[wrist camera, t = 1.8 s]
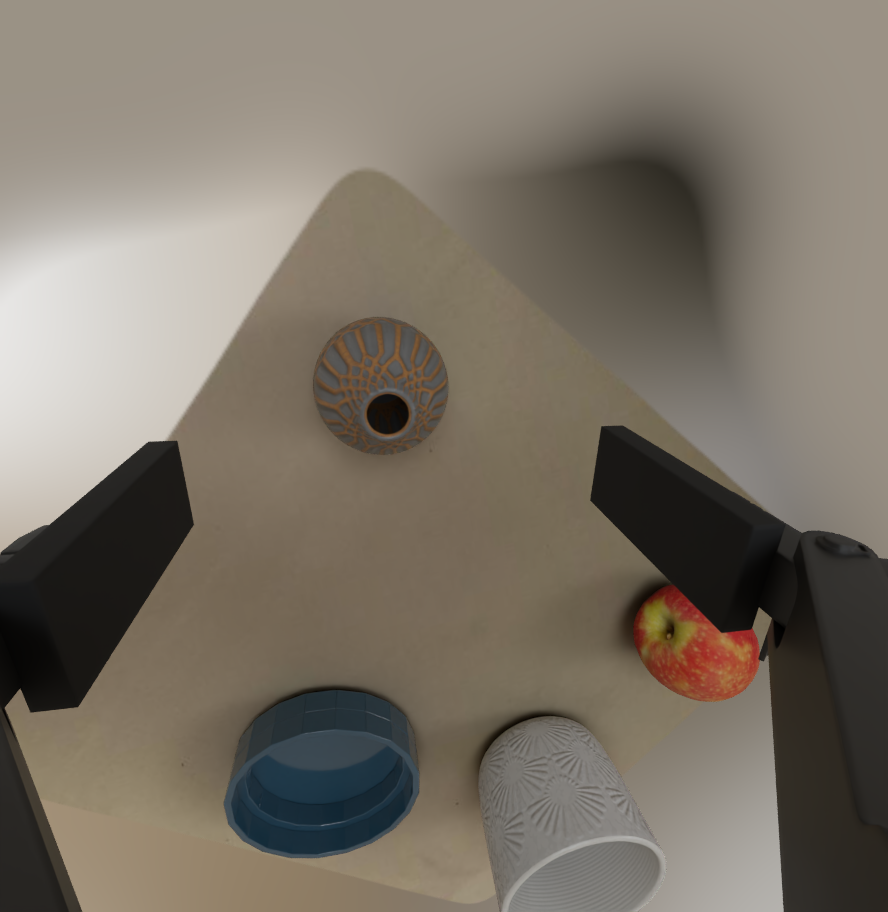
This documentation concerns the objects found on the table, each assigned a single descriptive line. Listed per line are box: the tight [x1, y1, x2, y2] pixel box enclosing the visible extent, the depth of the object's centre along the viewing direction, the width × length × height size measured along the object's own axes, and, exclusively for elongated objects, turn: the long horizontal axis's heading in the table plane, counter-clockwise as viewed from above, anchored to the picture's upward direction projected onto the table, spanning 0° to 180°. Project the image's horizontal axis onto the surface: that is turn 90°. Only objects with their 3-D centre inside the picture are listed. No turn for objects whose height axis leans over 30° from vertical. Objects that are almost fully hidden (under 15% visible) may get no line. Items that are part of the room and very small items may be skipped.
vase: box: [313, 317, 448, 455], centre depth 24 cm, size 7×7×9 cm
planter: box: [478, 716, 666, 912], centre depth 38 cm, size 12×12×11 cm
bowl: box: [224, 690, 419, 858], centre depth 37 cm, size 14×14×4 cm
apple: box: [633, 585, 760, 702], centre depth 36 cm, size 8×8×8 cm
